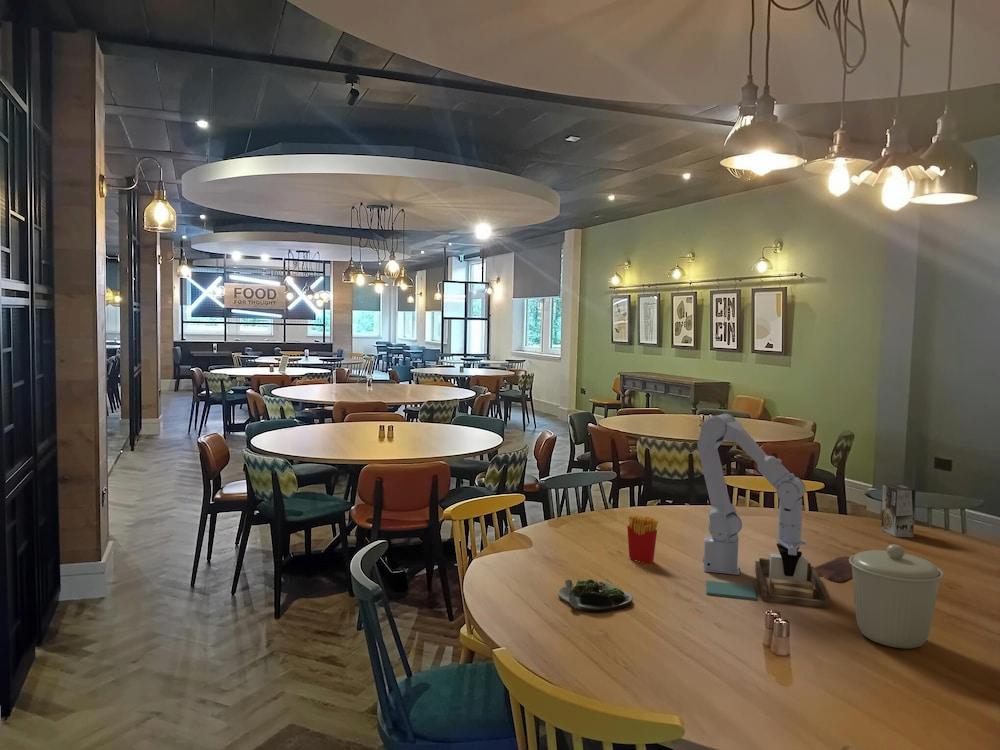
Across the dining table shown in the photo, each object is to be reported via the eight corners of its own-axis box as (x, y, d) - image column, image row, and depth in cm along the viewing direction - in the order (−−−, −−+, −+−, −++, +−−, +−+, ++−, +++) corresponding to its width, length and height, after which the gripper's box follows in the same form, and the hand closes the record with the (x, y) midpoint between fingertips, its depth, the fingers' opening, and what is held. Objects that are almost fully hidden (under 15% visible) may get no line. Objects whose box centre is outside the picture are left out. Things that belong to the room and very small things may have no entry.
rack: (762, 600, 174) (762, 585, 174) (755, 571, 196) (755, 557, 196) (828, 608, 170) (828, 592, 170) (813, 577, 192) (814, 563, 192)
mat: (706, 594, 178) (706, 592, 178) (706, 582, 187) (706, 580, 187) (756, 600, 175) (756, 597, 175) (753, 587, 183) (753, 585, 183)
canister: (939, 665, 141) (945, 564, 140) (841, 643, 151) (845, 548, 149) (939, 633, 156) (944, 541, 155) (849, 615, 166) (853, 528, 165)
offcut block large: (771, 595, 179) (772, 582, 179) (769, 591, 181) (770, 578, 181) (812, 598, 177) (813, 585, 177) (810, 595, 179) (811, 581, 179)
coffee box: (914, 537, 232) (916, 489, 231) (894, 537, 232) (897, 489, 231) (898, 529, 241) (901, 483, 240) (880, 529, 241) (882, 483, 240)
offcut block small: (773, 599, 176) (774, 587, 176) (773, 595, 179) (774, 584, 178) (812, 605, 173) (813, 593, 173) (812, 601, 175) (812, 589, 175)
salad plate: (539, 591, 180) (540, 573, 180) (597, 581, 188) (597, 564, 187) (580, 619, 162) (580, 600, 162) (641, 607, 170) (642, 588, 170)
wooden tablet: (842, 551, 213) (877, 555, 205) (843, 558, 212) (878, 563, 205) (804, 571, 195) (841, 576, 187) (805, 579, 194) (842, 585, 187)
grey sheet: (770, 584, 186) (771, 556, 186) (769, 580, 189) (770, 553, 188) (806, 588, 184) (807, 560, 183) (804, 584, 186) (805, 556, 186)
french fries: (624, 558, 206) (625, 515, 205) (631, 555, 209) (632, 512, 208) (652, 565, 200) (653, 521, 199) (659, 561, 203) (660, 518, 202)
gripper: (810, 532, 177) (808, 584, 178) (802, 518, 191) (800, 566, 192) (780, 529, 179) (778, 581, 180) (774, 515, 193) (773, 563, 194)
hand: (787, 573), depth 186 cm, fingers closed on grey sheet, 3 cm apart
